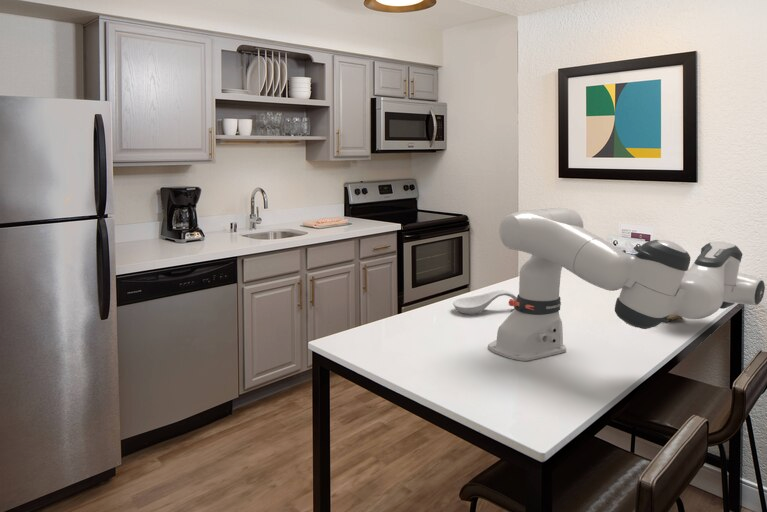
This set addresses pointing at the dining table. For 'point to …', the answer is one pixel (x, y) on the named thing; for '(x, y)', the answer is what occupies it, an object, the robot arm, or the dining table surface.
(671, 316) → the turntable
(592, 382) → the dining table surface
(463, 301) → the spoon rest
